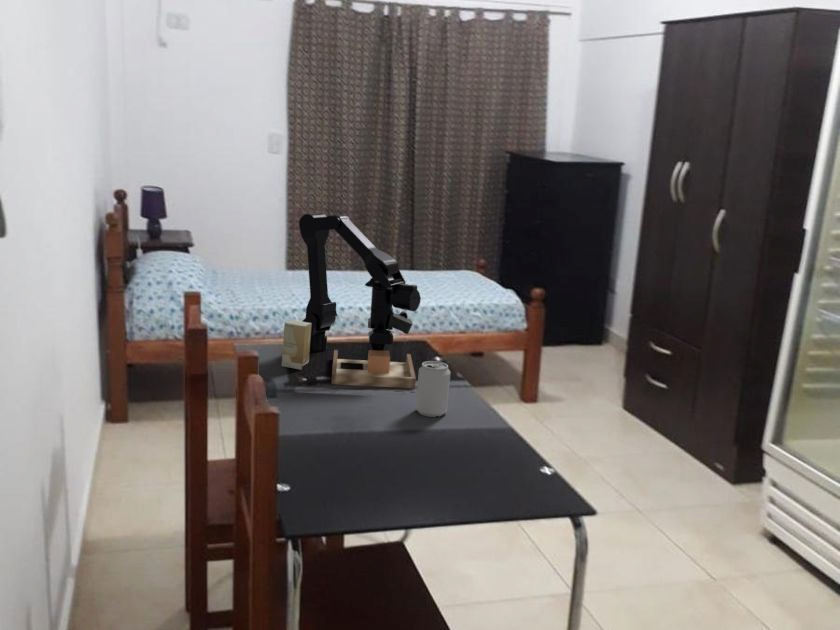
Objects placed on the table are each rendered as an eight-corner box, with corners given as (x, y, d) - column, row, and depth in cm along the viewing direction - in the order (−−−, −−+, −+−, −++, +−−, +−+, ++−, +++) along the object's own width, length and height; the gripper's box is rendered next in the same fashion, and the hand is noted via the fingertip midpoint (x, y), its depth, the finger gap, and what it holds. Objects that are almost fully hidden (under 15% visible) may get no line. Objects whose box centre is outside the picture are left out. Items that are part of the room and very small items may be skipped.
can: (410, 408, 204) (413, 360, 202) (438, 406, 208) (442, 358, 205) (423, 419, 198) (427, 369, 195) (452, 416, 201) (456, 367, 198)
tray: (331, 388, 214) (331, 374, 213) (333, 363, 235) (334, 350, 235) (414, 392, 216) (415, 378, 215) (409, 366, 237) (410, 354, 236)
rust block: (368, 372, 226) (369, 355, 225) (367, 366, 231) (368, 350, 230) (389, 373, 226) (390, 356, 225) (387, 366, 232) (389, 351, 230)
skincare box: (281, 366, 229) (282, 322, 226) (288, 362, 233) (290, 319, 230) (303, 370, 227) (305, 325, 224) (309, 366, 231) (312, 322, 228)
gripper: (414, 314, 221) (410, 372, 225) (409, 298, 239) (405, 352, 243) (371, 312, 220) (367, 370, 224) (369, 296, 238) (366, 350, 242)
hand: (378, 360), depth 233 cm, fingers closed
